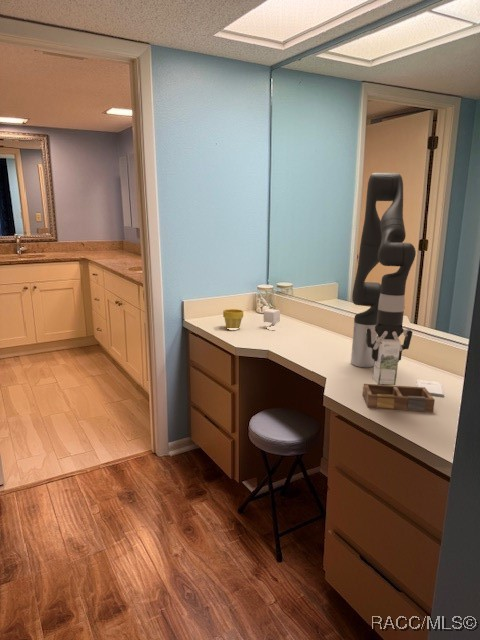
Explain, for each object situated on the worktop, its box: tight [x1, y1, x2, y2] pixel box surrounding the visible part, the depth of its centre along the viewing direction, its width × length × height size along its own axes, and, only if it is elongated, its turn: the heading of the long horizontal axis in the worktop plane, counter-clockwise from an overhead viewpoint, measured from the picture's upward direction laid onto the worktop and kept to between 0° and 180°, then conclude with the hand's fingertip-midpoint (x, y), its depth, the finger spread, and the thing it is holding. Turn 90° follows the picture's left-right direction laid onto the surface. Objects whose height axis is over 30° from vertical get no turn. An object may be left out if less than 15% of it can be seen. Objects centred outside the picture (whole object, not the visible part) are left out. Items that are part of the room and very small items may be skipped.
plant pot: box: [222, 308, 244, 329], centre depth 234 cm, size 10×10×10 cm
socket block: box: [362, 383, 436, 413], centre depth 144 cm, size 11×20×4 cm, turn 83°
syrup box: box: [371, 337, 401, 386], centre depth 142 cm, size 6×6×14 cm
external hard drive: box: [416, 379, 445, 398], centre depth 157 cm, size 2×8×12 cm
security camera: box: [263, 308, 281, 327], centre depth 236 cm, size 6×7×10 cm
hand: (385, 360), depth 142 cm, fingers closed on syrup box, 6 cm apart
